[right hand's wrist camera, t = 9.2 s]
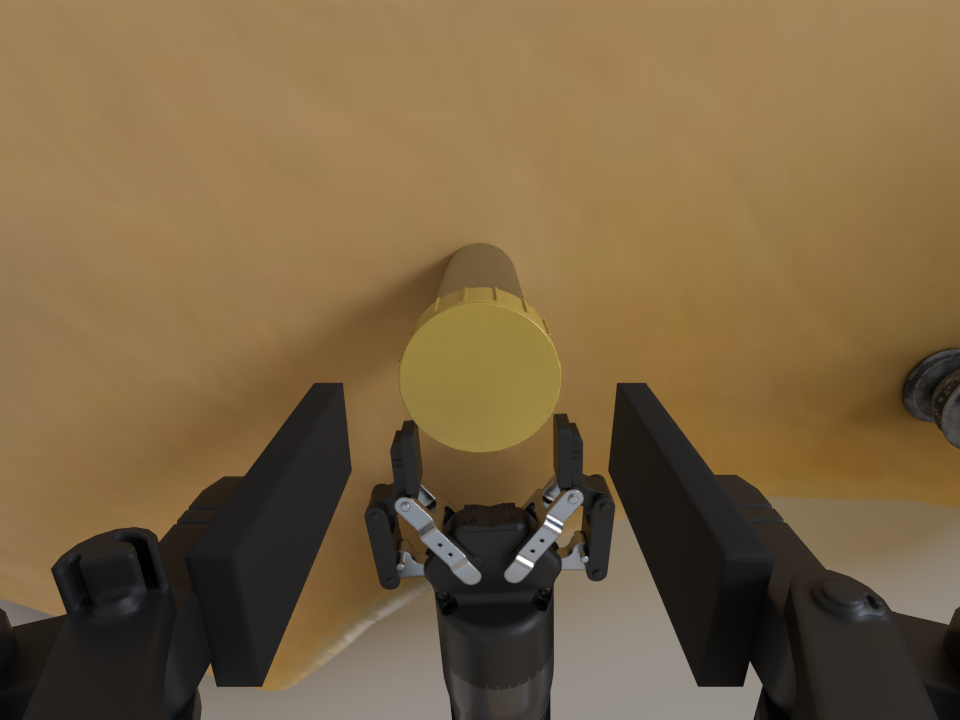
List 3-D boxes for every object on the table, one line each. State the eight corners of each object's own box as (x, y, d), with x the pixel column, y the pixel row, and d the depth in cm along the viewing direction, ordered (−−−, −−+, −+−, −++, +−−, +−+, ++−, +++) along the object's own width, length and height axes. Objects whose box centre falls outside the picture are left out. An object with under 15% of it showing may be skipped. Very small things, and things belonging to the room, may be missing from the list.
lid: (441, 441, 21) (436, 473, 19) (382, 318, 19) (369, 338, 17) (572, 395, 20) (583, 423, 18) (523, 262, 18) (529, 276, 16)
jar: (460, 324, 33) (445, 451, 19) (432, 259, 32) (392, 342, 17) (526, 299, 33) (563, 410, 18) (501, 231, 31) (519, 293, 17)
